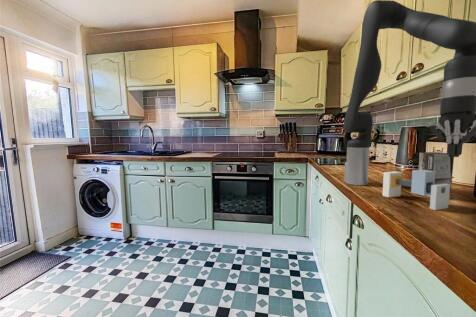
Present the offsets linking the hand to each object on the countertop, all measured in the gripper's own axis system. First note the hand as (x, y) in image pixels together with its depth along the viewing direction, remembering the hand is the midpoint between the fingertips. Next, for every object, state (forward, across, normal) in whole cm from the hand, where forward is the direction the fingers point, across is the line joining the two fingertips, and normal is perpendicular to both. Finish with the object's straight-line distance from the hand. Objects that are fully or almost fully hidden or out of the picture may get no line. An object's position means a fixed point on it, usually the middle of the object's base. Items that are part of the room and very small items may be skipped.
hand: (453, 156), depth 65 cm
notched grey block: (+13, -8, 0) cm, 15 cm away
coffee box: (+17, -14, +15) cm, 26 cm away
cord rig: (+16, -11, 0) cm, 20 cm away
